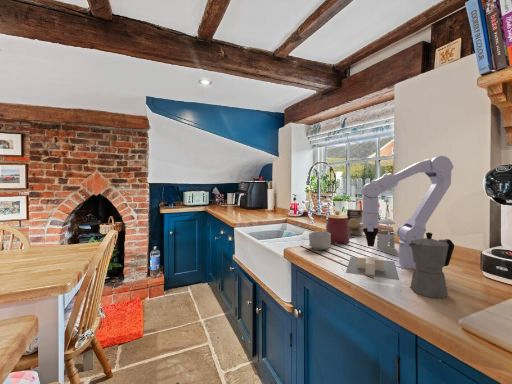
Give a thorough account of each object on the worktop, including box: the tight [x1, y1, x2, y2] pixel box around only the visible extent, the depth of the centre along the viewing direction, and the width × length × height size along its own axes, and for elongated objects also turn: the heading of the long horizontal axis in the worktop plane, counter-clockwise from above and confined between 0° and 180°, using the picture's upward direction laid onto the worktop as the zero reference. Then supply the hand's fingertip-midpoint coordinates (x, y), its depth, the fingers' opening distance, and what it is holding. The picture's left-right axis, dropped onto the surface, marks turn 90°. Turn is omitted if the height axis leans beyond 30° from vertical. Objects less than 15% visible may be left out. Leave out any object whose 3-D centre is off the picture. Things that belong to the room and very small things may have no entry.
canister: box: [325, 210, 351, 244], centre depth 141 cm, size 13×13×18 cm
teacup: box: [308, 230, 331, 251], centre depth 126 cm, size 14×11×8 cm
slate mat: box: [345, 256, 400, 281], centre depth 96 cm, size 17×22×1 cm
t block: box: [356, 255, 385, 275], centre depth 91 cm, size 9×9×4 cm
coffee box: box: [346, 208, 364, 236], centre depth 160 cm, size 9×6×16 cm
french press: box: [374, 199, 398, 252], centre depth 122 cm, size 10×12×25 cm
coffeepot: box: [409, 232, 455, 299], centre depth 74 cm, size 15×9×18 cm, turn 101°
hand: (370, 246), depth 100 cm, fingers closed
